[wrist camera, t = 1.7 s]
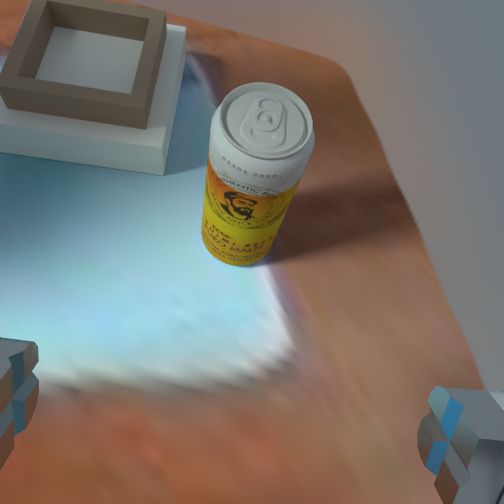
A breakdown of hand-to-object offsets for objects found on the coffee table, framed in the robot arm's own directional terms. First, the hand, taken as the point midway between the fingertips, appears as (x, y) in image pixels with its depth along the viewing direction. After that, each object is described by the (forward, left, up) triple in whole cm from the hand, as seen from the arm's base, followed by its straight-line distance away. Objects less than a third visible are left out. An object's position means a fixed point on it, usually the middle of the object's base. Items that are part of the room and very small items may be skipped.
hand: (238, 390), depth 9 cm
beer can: (+1, +16, -25) cm, 30 cm away
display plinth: (-13, +28, -25) cm, 40 cm away
